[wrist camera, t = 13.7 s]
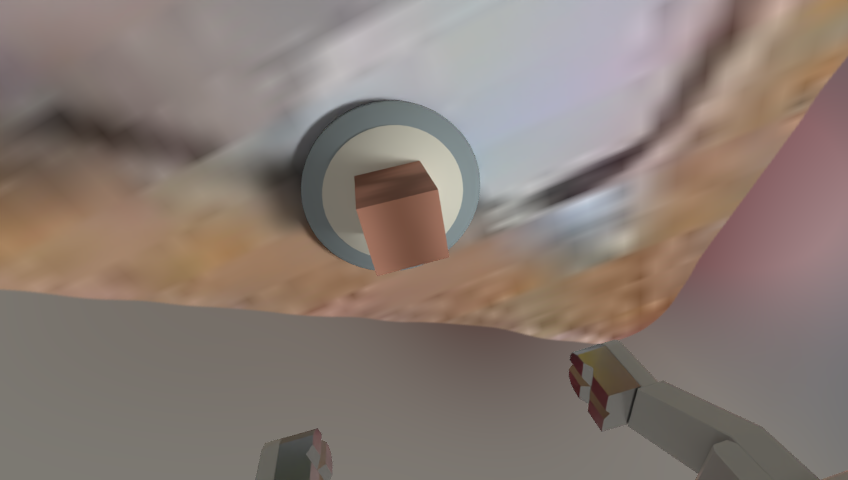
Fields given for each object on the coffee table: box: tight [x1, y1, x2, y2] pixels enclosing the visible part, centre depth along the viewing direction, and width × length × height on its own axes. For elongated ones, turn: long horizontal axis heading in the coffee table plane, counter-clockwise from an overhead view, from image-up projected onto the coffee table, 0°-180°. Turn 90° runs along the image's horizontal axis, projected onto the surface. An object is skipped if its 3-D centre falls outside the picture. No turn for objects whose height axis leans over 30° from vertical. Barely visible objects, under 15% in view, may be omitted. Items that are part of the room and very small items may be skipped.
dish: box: [301, 100, 480, 271], centre depth 27 cm, size 14×14×1 cm
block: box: [354, 161, 449, 276], centre depth 24 cm, size 5×5×6 cm
